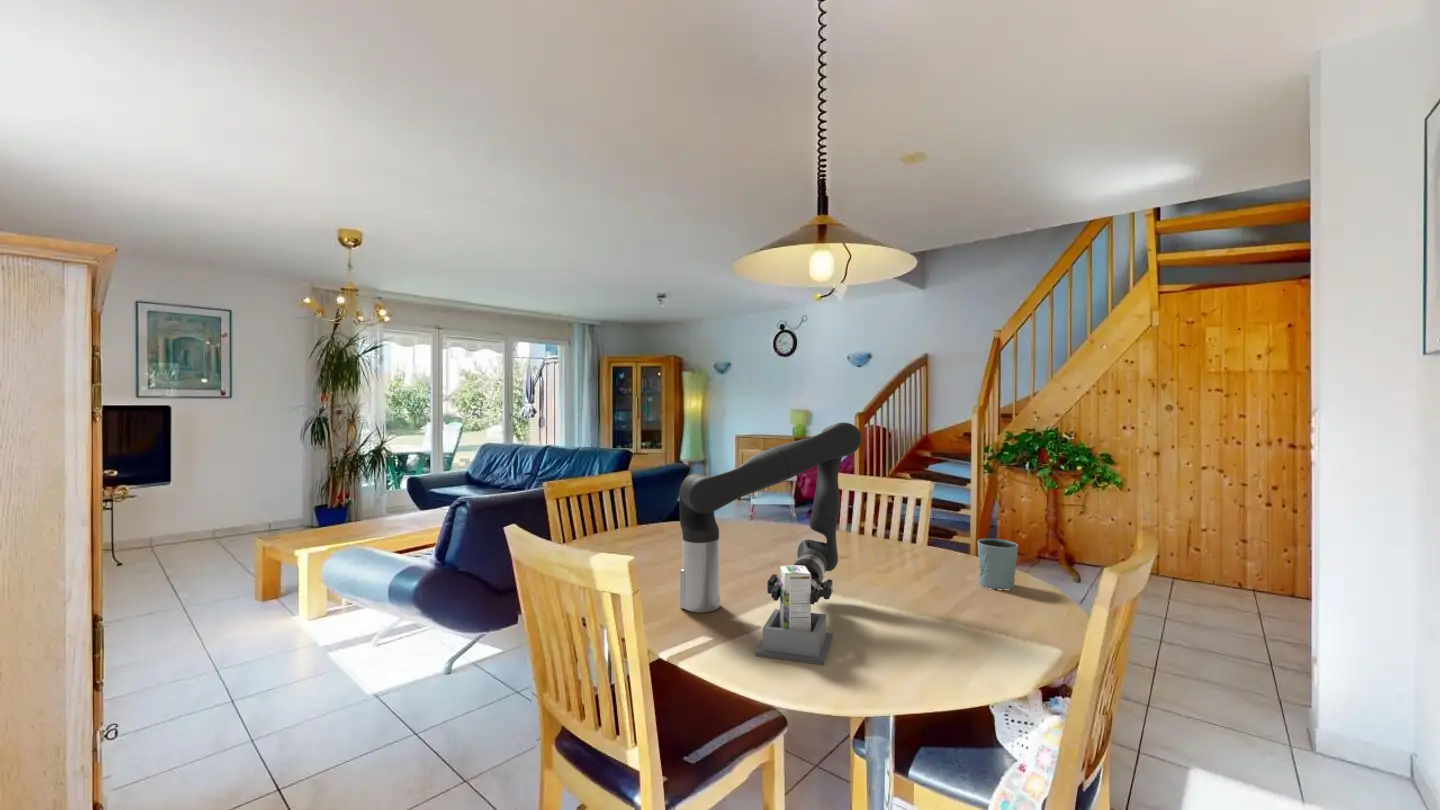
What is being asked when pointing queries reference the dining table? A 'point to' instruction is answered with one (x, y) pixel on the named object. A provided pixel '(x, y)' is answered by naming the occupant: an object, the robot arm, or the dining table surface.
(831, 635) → the holder
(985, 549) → the grey-green plant pot
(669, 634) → the dining table surface
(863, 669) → the dining table surface
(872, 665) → the dining table surface
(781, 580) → the syrup box
